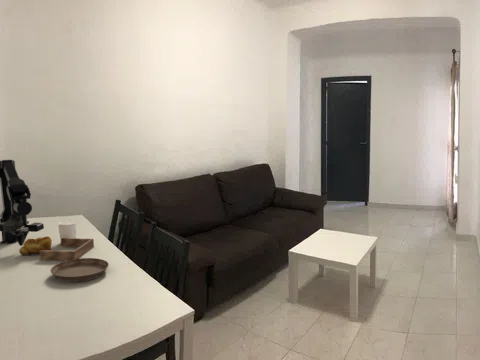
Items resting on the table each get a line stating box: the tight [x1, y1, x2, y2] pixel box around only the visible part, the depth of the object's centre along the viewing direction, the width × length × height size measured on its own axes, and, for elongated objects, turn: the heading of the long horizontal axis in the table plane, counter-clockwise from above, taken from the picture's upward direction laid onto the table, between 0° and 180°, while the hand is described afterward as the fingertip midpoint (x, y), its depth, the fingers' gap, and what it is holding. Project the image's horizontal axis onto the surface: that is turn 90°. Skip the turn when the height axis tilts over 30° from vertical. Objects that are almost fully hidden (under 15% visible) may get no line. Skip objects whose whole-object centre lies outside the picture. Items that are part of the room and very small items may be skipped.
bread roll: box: [18, 236, 52, 256], centre depth 172 cm, size 13×10×8 cm
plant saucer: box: [50, 257, 110, 283], centre depth 149 cm, size 21×21×3 cm
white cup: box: [58, 220, 77, 241], centre depth 187 cm, size 8×8×10 cm
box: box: [39, 237, 95, 262], centre depth 173 cm, size 15×19×4 cm
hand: (21, 245), depth 173 cm, fingers closed
